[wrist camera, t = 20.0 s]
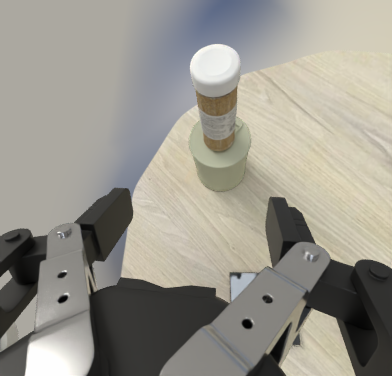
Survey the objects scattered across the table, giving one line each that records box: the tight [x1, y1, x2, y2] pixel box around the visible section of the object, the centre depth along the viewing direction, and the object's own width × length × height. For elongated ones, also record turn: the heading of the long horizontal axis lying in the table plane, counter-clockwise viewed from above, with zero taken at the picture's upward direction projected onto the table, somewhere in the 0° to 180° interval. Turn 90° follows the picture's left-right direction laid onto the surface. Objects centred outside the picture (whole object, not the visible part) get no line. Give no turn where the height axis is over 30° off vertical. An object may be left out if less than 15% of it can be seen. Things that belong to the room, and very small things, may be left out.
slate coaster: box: [230, 272, 300, 345], centre depth 36 cm, size 10×10×1 cm
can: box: [189, 117, 251, 191], centre depth 38 cm, size 9×9×12 cm
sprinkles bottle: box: [190, 44, 241, 151], centre depth 26 cm, size 5×5×14 cm
